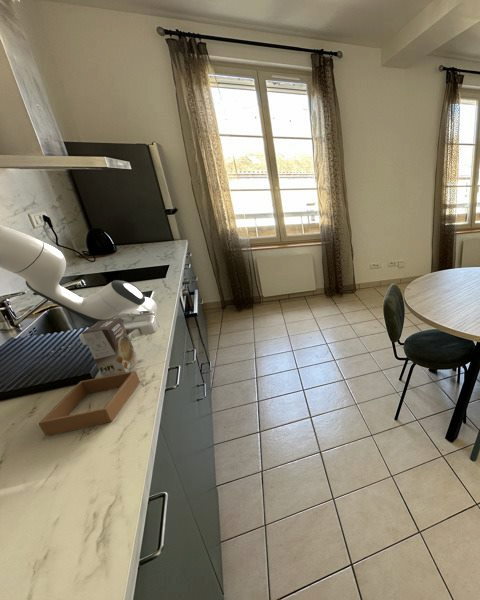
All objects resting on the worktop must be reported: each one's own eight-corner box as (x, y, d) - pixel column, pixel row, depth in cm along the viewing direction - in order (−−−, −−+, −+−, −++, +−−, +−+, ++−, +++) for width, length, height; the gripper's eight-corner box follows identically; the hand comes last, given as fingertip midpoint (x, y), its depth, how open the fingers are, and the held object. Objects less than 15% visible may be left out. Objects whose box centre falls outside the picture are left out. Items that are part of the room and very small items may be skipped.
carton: (45, 436, 79) (37, 423, 77) (86, 392, 94) (80, 381, 93) (111, 421, 82) (105, 409, 81) (140, 381, 98) (135, 370, 96)
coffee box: (127, 375, 102) (106, 329, 95) (103, 380, 100) (80, 333, 94) (139, 360, 110) (121, 317, 104) (117, 364, 108) (97, 320, 102)
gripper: (89, 320, 109) (63, 339, 97) (159, 309, 114) (143, 326, 102) (97, 337, 112) (73, 357, 99) (165, 326, 117) (150, 344, 104)
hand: (109, 341), depth 101 cm, fingers open, 8 cm apart
